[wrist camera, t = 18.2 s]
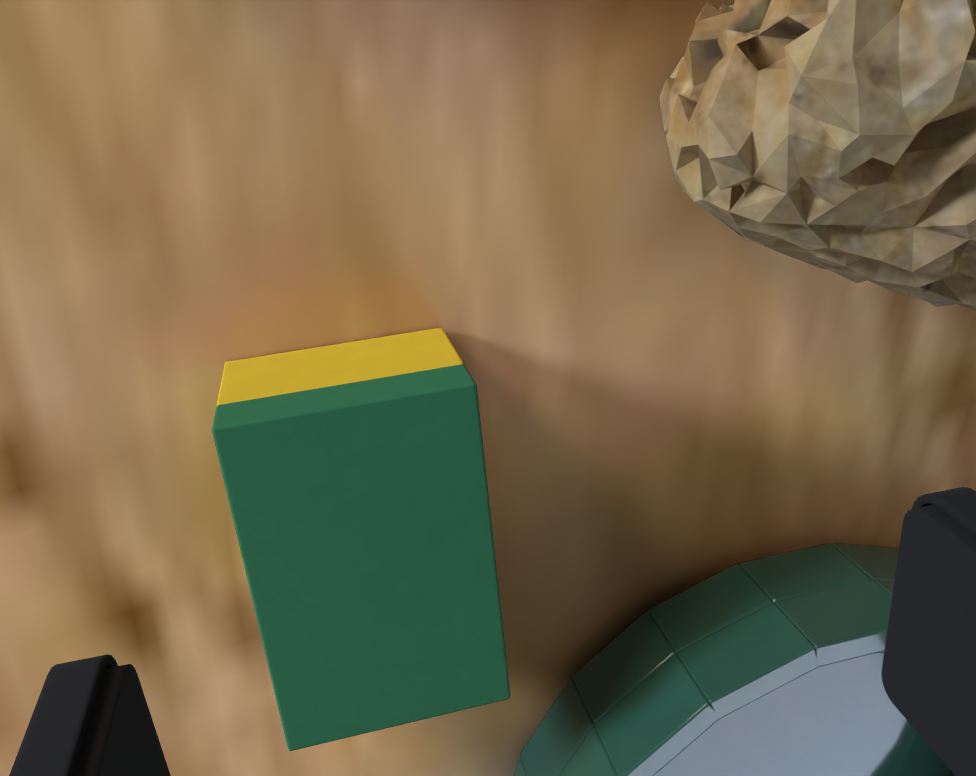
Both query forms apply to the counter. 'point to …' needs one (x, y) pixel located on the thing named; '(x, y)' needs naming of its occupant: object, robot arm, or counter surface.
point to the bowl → (744, 680)
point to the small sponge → (364, 531)
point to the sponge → (836, 135)
